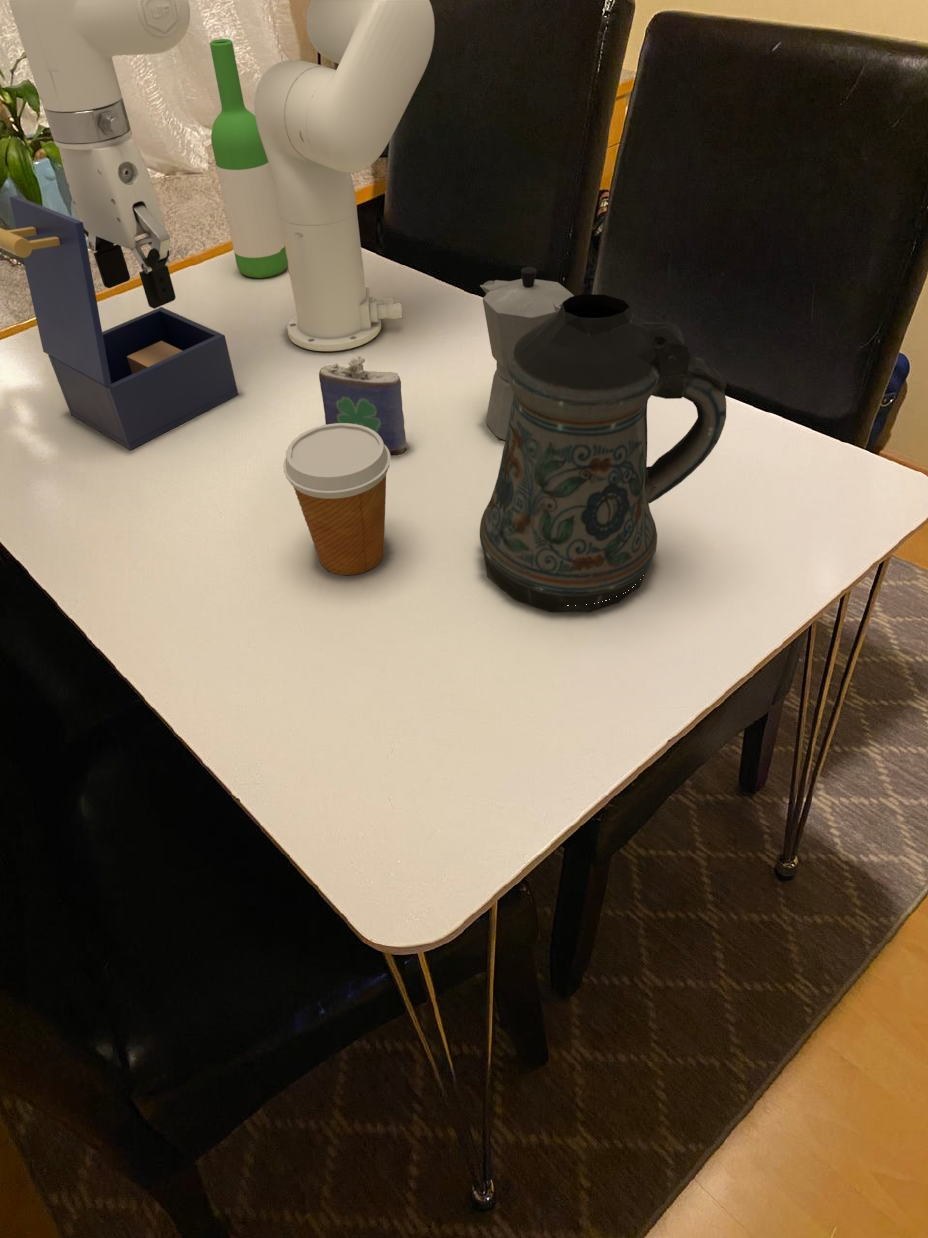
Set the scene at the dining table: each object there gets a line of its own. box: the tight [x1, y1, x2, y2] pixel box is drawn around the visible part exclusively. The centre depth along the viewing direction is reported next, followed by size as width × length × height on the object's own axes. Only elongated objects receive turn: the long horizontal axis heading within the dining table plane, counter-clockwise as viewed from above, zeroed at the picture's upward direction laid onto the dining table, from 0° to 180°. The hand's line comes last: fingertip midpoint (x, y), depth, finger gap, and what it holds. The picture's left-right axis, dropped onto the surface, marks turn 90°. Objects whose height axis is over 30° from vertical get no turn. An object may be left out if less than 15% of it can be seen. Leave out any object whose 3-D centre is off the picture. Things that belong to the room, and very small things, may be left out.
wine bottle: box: [209, 38, 288, 279], centre depth 127 cm, size 8×8×30 cm
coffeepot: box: [479, 266, 575, 441], centre depth 96 cm, size 15×9×18 cm, turn 46°
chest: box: [47, 306, 239, 451], centre depth 106 cm, size 16×13×8 cm
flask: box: [318, 355, 407, 456], centre depth 97 cm, size 9×3×11 cm, turn 74°
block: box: [127, 341, 182, 374], centre depth 108 cm, size 5×5×5 cm
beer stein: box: [479, 293, 728, 613], centre depth 77 cm, size 16×19×25 cm
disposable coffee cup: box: [282, 423, 392, 576], centre depth 83 cm, size 10×10×12 cm
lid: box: [0, 195, 111, 385], centre depth 93 cm, size 16×13×6 cm
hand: (139, 292), depth 101 cm, fingers open, 8 cm apart
